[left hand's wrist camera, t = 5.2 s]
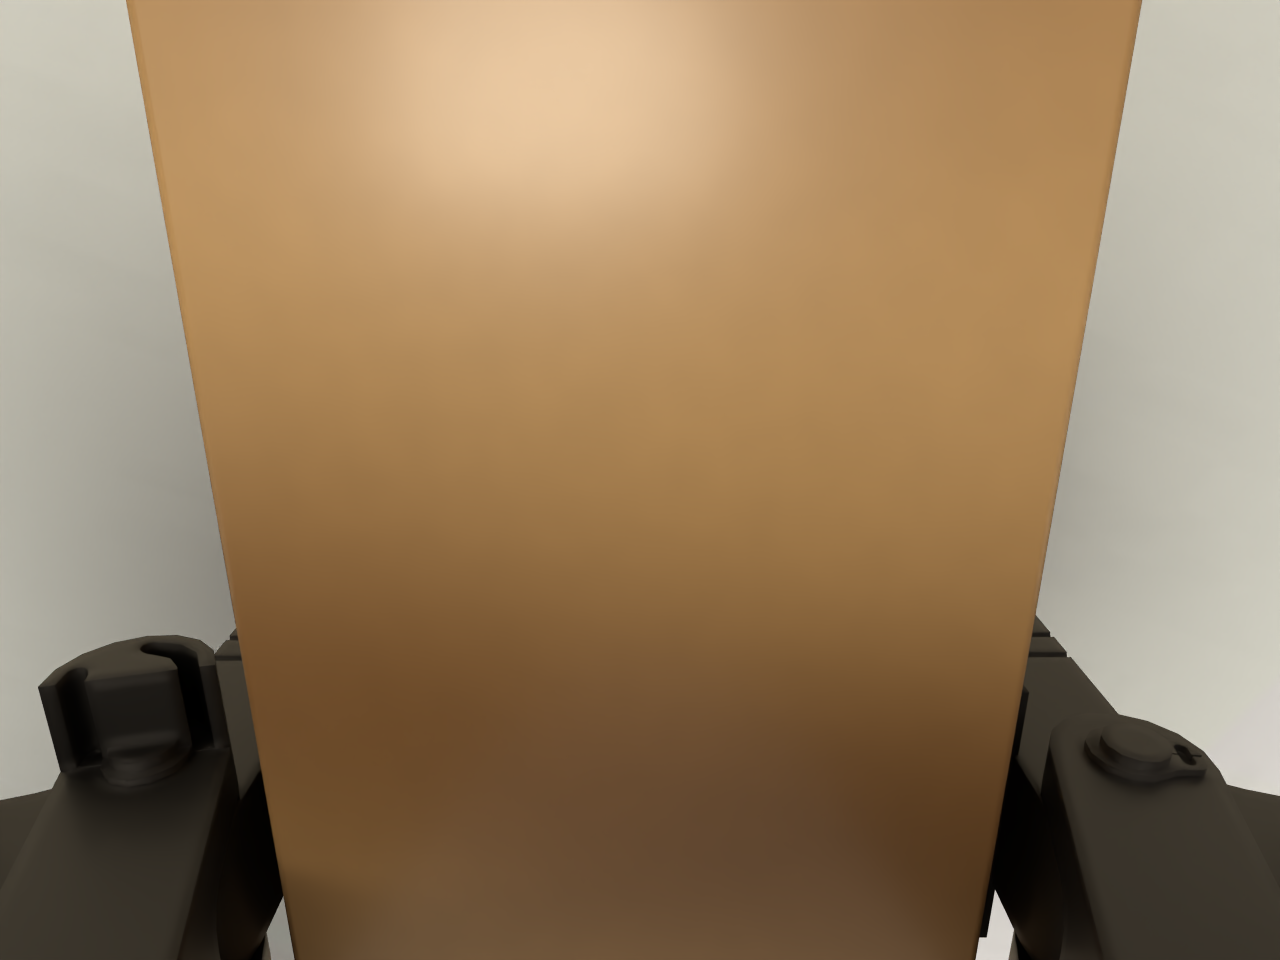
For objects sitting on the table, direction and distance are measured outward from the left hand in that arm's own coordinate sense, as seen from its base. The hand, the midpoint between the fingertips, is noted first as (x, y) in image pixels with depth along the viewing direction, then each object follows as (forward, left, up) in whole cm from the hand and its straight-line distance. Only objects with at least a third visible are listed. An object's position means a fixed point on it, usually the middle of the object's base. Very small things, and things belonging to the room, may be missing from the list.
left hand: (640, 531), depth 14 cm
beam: (+7, +20, -1) cm, 21 cm away
